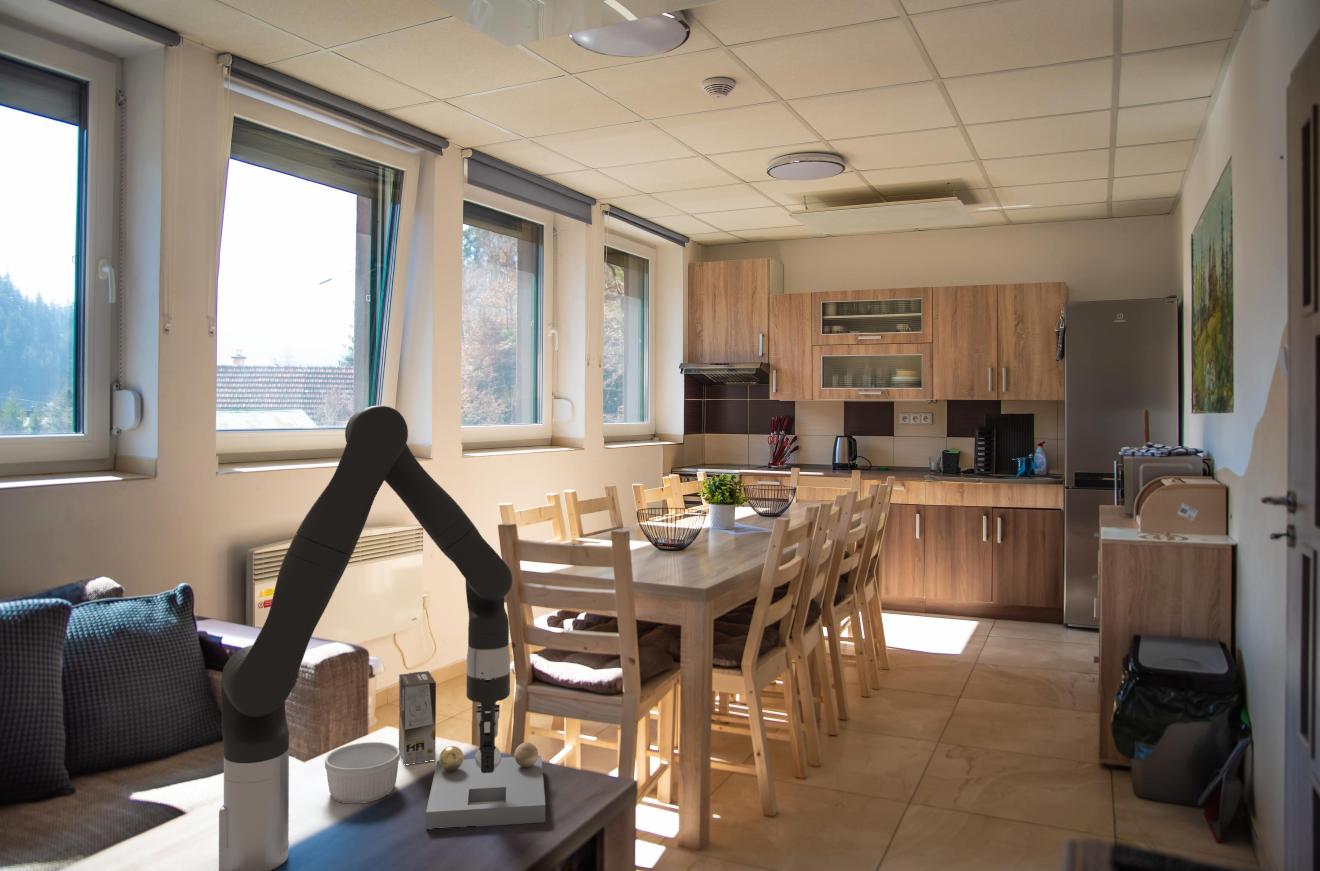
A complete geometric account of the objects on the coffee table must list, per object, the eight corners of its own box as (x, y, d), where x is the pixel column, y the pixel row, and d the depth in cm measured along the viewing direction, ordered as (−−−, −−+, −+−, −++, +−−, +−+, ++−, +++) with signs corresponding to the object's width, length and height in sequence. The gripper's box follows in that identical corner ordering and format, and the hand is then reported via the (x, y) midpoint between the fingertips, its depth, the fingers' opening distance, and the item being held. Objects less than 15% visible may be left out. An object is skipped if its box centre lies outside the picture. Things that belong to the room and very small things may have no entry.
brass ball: (437, 775, 161) (438, 751, 161) (440, 766, 165) (440, 742, 165) (462, 774, 162) (463, 750, 162) (464, 764, 166) (464, 741, 166)
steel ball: (474, 776, 150) (474, 750, 150) (475, 765, 155) (475, 740, 155) (500, 774, 151) (501, 749, 151) (501, 764, 156) (501, 739, 155)
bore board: (425, 829, 146) (426, 812, 146) (437, 776, 168) (437, 760, 168) (545, 822, 150) (545, 804, 150) (541, 770, 171) (541, 755, 171)
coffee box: (436, 761, 175) (437, 682, 175) (403, 766, 173) (404, 686, 172) (428, 745, 184) (429, 670, 183) (397, 750, 181) (397, 673, 181)
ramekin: (308, 798, 158) (308, 760, 158) (362, 772, 170) (362, 736, 170) (362, 813, 152) (363, 774, 152) (414, 785, 164) (415, 748, 164)
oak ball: (514, 771, 163) (514, 748, 163) (514, 762, 168) (514, 739, 168) (538, 770, 164) (538, 746, 164) (537, 761, 169) (538, 738, 168)
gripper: (468, 659, 159) (468, 751, 159) (464, 683, 145) (464, 784, 145) (510, 657, 160) (509, 749, 161) (510, 681, 146) (509, 781, 147)
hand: (487, 765), depth 153 cm, fingers closed on steel ball, 4 cm apart
